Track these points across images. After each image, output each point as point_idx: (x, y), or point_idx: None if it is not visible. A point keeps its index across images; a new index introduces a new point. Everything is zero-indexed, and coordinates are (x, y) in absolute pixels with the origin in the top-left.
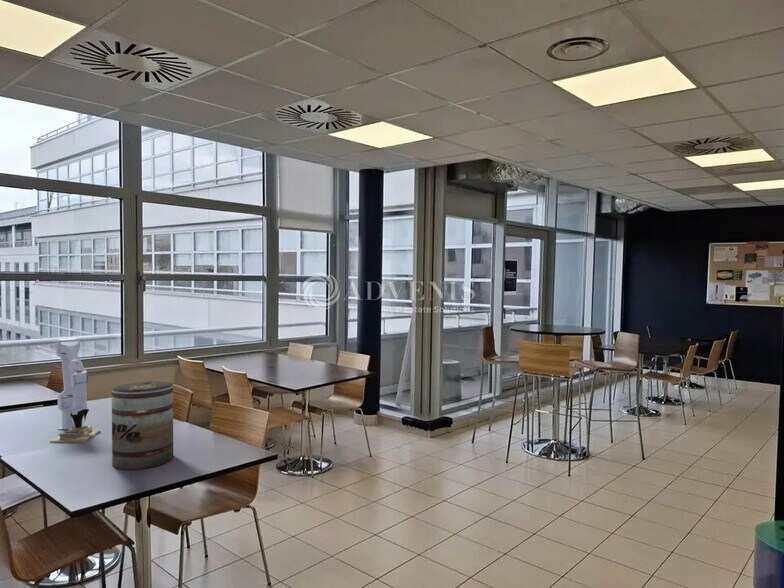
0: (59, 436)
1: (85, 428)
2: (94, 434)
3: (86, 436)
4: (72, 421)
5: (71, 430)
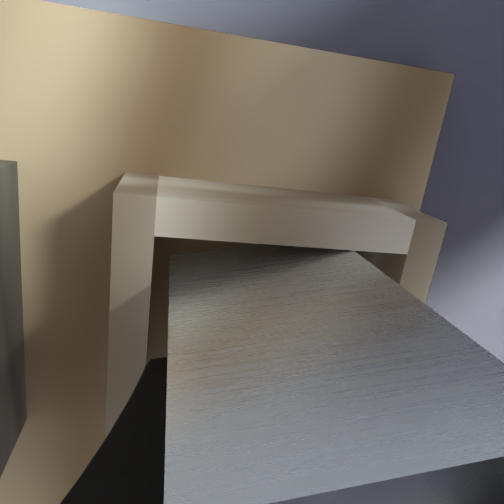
0: (49, 30)
1: None
2: None
3: (45, 481)
4: (169, 379)
5: (114, 269)
